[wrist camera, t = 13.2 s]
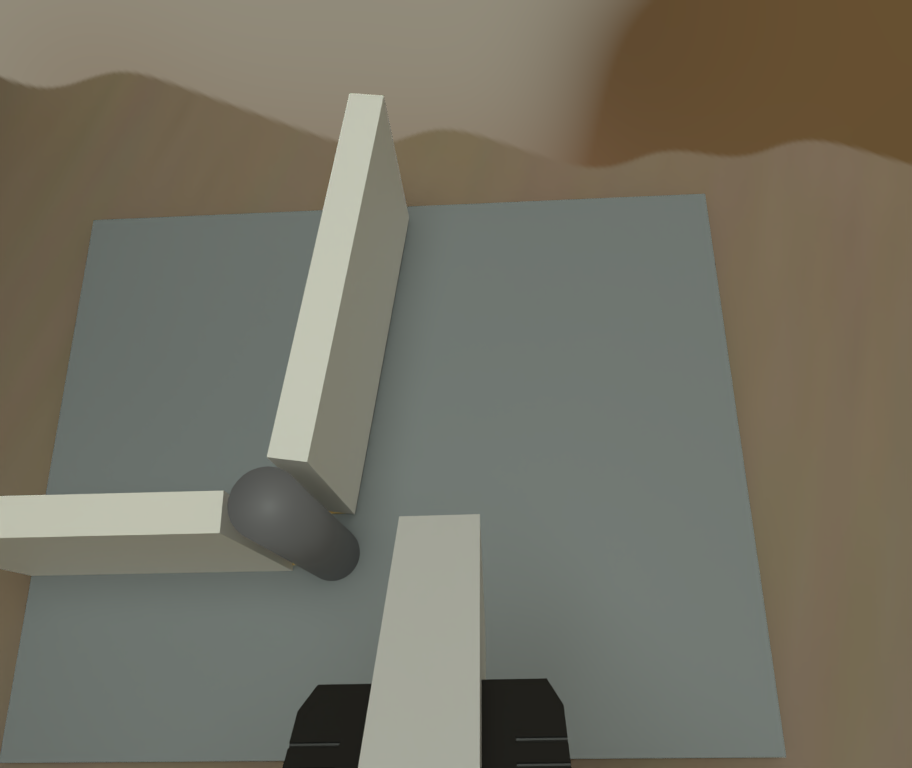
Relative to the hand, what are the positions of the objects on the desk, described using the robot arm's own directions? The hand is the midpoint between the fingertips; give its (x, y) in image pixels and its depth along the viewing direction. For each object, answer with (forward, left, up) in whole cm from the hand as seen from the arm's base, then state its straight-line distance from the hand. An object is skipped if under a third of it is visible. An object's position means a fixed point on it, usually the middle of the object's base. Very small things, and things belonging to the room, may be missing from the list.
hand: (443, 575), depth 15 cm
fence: (-10, +3, -14) cm, 18 cm away
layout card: (-3, +7, -15) cm, 16 cm away
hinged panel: (-4, +11, -14) cm, 18 cm away
